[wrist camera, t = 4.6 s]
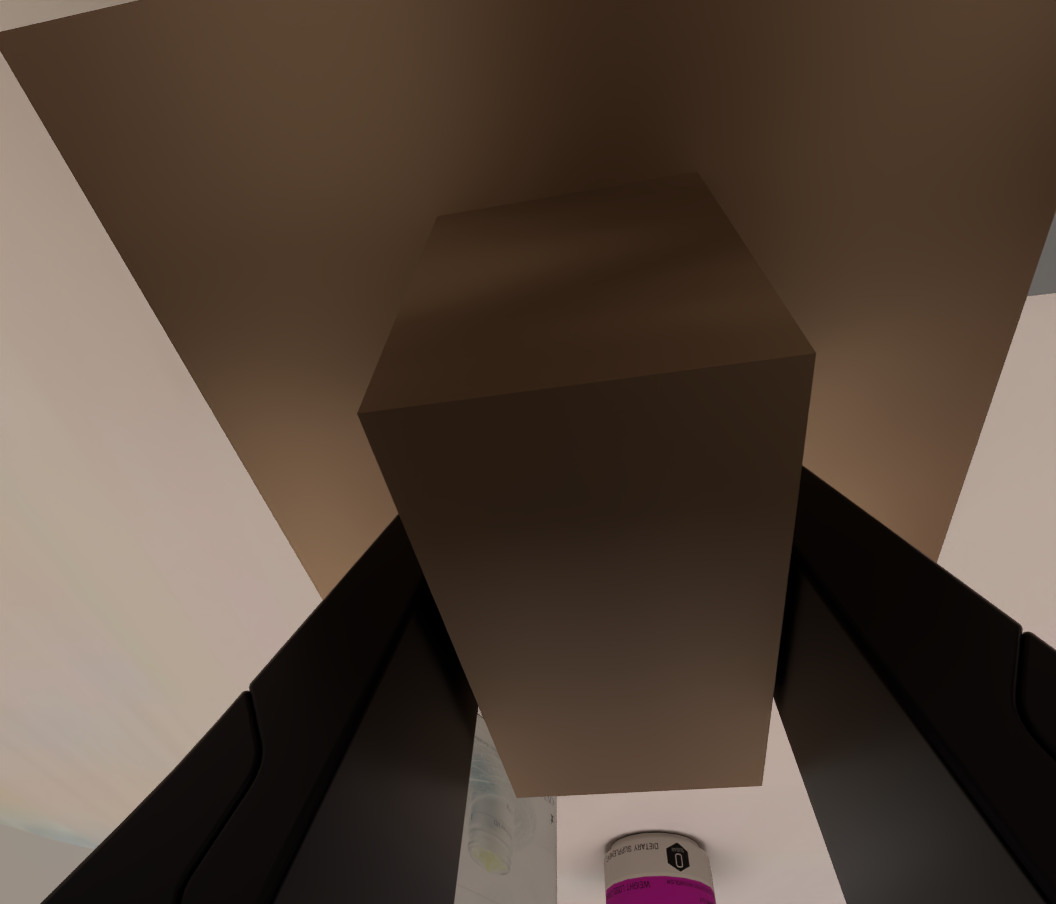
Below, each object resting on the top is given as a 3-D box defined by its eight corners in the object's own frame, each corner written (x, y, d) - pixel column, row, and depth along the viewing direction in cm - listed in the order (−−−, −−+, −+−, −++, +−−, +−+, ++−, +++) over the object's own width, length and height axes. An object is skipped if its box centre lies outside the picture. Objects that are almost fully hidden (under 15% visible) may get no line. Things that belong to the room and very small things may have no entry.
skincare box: (562, 766, 42) (562, 963, 34) (487, 787, 45) (471, 975, 37) (461, 697, 37) (433, 909, 29) (383, 726, 40) (338, 928, 32)
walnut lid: (1138, -225, 6) (2298, -556, 2) (901, 578, 12) (1053, 852, 9) (40, 25, 7) (-541, 119, 3) (365, 625, 14) (296, 879, 10)
